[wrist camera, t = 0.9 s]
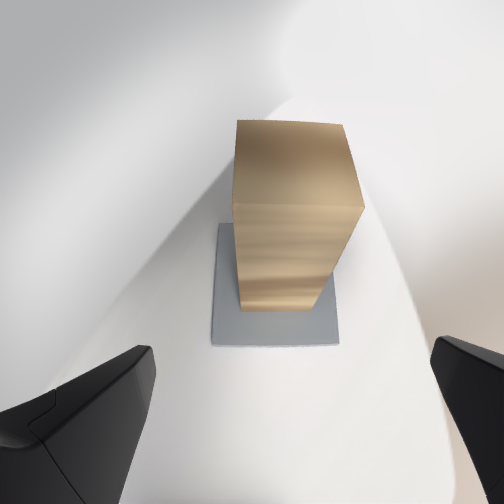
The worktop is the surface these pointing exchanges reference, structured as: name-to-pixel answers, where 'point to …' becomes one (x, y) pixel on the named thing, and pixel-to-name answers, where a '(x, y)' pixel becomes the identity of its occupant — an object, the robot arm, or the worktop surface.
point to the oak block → (291, 210)
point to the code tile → (266, 323)
